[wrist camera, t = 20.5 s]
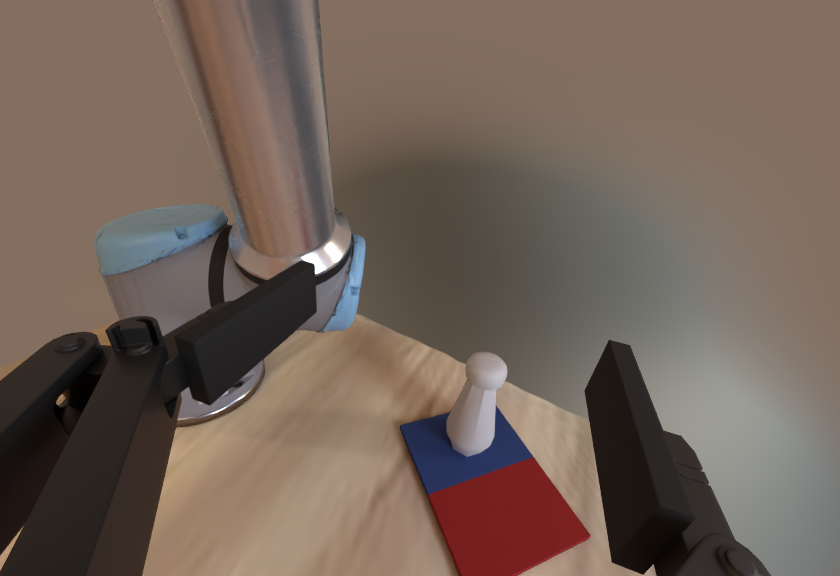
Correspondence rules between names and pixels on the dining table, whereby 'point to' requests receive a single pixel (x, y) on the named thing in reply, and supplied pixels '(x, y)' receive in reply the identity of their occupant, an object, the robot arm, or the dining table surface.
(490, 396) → the salt shaker
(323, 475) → the dining table surface
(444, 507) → the sorting mat
